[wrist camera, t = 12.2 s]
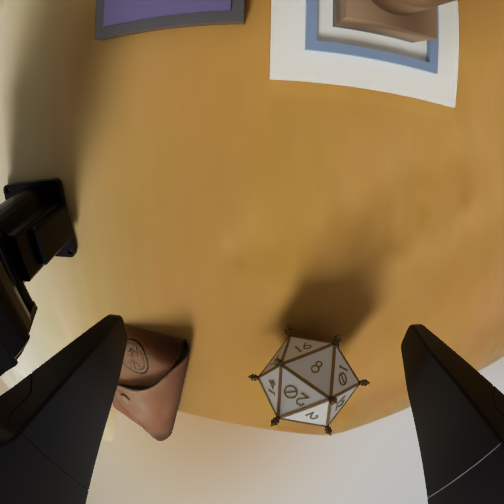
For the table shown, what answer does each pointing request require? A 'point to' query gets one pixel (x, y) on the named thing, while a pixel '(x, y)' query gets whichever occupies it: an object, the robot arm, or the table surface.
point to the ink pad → (162, 15)
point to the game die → (308, 381)
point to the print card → (363, 53)
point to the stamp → (389, 17)
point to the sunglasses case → (152, 380)
